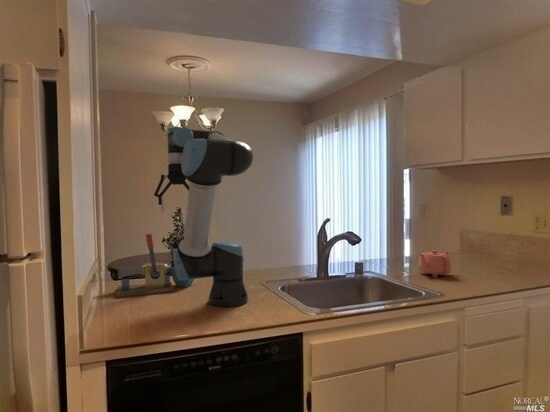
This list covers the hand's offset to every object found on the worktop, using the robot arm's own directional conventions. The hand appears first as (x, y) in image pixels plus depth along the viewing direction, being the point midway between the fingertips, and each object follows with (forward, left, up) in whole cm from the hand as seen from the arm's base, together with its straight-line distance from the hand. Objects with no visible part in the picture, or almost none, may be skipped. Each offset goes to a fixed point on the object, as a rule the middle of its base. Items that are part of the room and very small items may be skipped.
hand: (177, 212), depth 160 cm
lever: (-1, +13, -19) cm, 23 cm away
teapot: (-22, -125, -35) cm, 132 cm away
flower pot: (+6, -3, -35) cm, 35 cm away
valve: (+5, +14, -33) cm, 36 cm away
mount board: (+4, +14, -34) cm, 37 cm away
